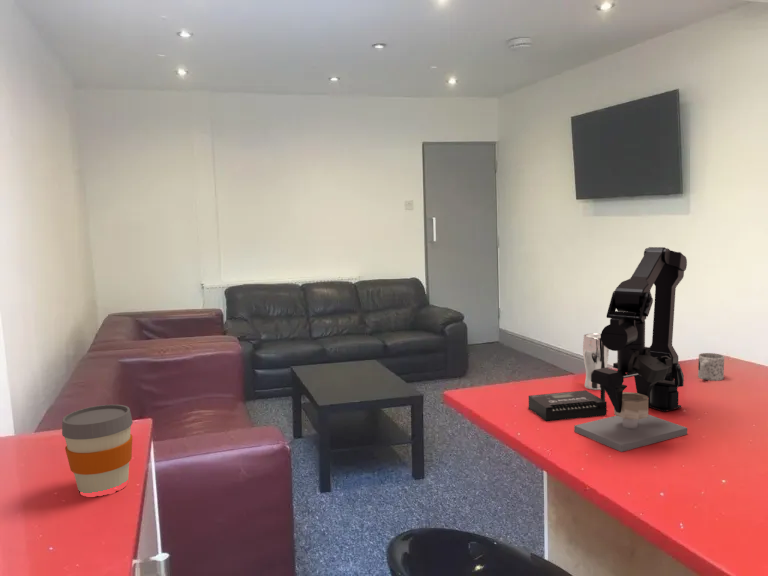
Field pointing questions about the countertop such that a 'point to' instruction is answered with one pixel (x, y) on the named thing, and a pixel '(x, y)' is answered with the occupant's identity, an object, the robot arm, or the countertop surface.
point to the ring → (633, 406)
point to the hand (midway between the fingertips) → (630, 409)
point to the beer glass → (593, 357)
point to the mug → (711, 366)
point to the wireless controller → (569, 404)
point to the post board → (630, 431)
